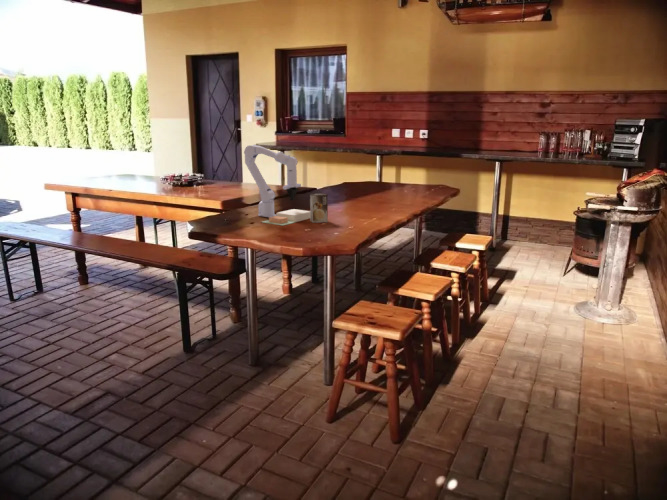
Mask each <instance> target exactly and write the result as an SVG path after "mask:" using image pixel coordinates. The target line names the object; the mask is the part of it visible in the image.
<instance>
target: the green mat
mask: <svg viewBox="0 0 667 500" xmlns="http://www.w3.org/2000/svg"><path fill="white" fill-rule="evenodd" d="M261 223H263V224H264V223H265V224H269V225H275V226H280V227H281V226H282V227H283V226H287V225H292V224H296V223H297V222H295V221H288V222H285V223H281V224H280V223H274V222H269V219H267V220H264V221H263V220H262V221H261Z"/></svg>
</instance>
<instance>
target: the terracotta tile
mask: <svg viewBox="0 0 667 500" xmlns="http://www.w3.org/2000/svg"><path fill="white" fill-rule="evenodd" d="M268 220H269V222H274V223H280V224H281V223H285V222H288V218H286V217H280V216H273V217H268Z"/></svg>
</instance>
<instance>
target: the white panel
mask: <svg viewBox="0 0 667 500" xmlns="http://www.w3.org/2000/svg"><path fill="white" fill-rule="evenodd" d="M276 215H277V216H280V217H286V218H288V221H295V222H296V223H298V222H301V221H305V220H310V210H305V209H295V208H293V209H292V208H291V209H288V210H283V211H278V212H276Z"/></svg>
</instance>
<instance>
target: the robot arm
mask: <svg viewBox="0 0 667 500" xmlns="http://www.w3.org/2000/svg"><path fill="white" fill-rule="evenodd" d="M243 154H244V163H245V165H246V167H247V169H248V170H249V173H250V174H251V176H252V178H253V180H254V181H255V184H256V185H257V187H258V189H259V192H258V193H259V195H260V200H261V201H260V202H259V203H258V206H257V207H258V215H257V216H258V217H265V218H269V217H273V216H277V214H275V198H276V192H275V191H274V190H272V188H271V187H270V185H268V184H267V182H266V181H265V179H264V176H263V175H262V172H261V171H260V169H259V167H258V165H257V164H256V158H257V157H258V155H261V154H262V155H265V156H266V157H267V156H268V157H270V158H272V159H274V161H275V162H277V163H280V164H282V165H285V166H286V176H287V177H286V179H287V180H286V183H287V184H285V185H283V186H282V190H286V192H287V194H288V196H289V200H290V201H295V198H296V194H297V192H298V190H299V188H301V187H302V183H298V181H297V180H298V179H297V178H298V177H297V175H298V173H297V172H298V171H297V166H298V159H297V157H295V156H291V155H290V154H285V153H284V152H283V151H278V152H275V151H273V150H270V149H268V148H266V147H264V146H261V145H258V144H252V145H247V146H245V147H244V150H243Z"/></svg>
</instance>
